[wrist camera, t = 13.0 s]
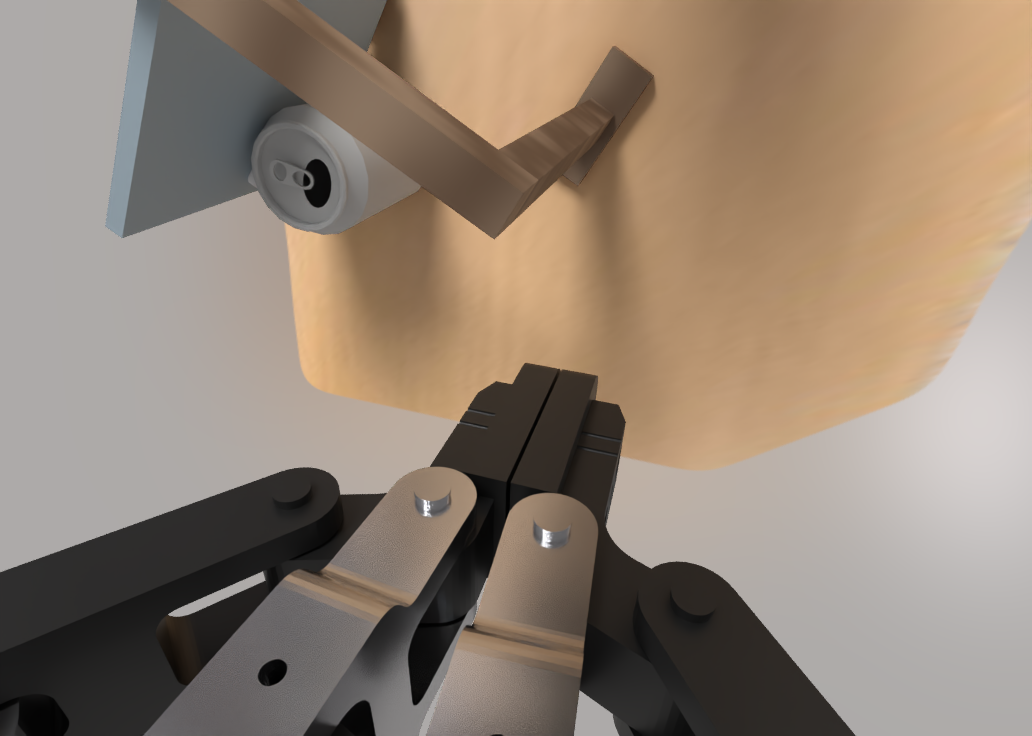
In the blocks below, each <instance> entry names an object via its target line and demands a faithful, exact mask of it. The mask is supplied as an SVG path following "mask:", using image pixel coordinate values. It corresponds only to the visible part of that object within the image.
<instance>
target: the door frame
mask: <svg viewBox="0 0 1032 736" xmlns="http://www.w3.org/2000/svg"><path fill="white" fill-rule="evenodd" d="M167 1H168V2H170V3H171V4H173V5H174V6H175V7H177V8H178V9H179V10H181V11H182V12H183V13H185V14H186V15H188V16H189V17H190V18H192V19H193V20H194V21H196V22H197V23H199V24H200V25H201V26H203V27H204V28H205V29H207V30H208V31H210V32H211V33H212V34H214V35H215V36H216V37H218V38H219V39H220V40H222V41H223V42H225V43H226V44H227V45H229V46H230V47H231V48H233V49H234V50H236V51H237V52H238V53H240V54H241V55H242V56H244V57H245V58H246V59H248V60H249V61H251V62H252V63H253V64H255V65H256V66H257V67H259V68H260V69H262V70H263V71H264V72H266V73H267V74H268V75H270V76H271V77H272V78H274V79H275V80H277V81H278V82H279V83H281V84H282V85H283V86H285V87H286V88H288V89H289V90H290V91H292V92H293V93H294V94H296V95H297V96H298V97H300V98H301V99H303V100H304V101H305V102H307V103H308V104H309V105H311V106H312V107H314V108H315V109H316V110H318V111H319V112H320V113H322V114H323V115H324V116H326V117H327V118H329V119H330V120H331V121H333V122H334V123H335V124H337V125H338V126H340V127H341V128H342V129H344V130H345V131H346V132H348V133H349V134H351V135H352V136H353V137H355V138H356V139H357V140H359V141H360V142H361V143H363V144H364V145H366V146H367V147H368V148H370V149H371V150H372V151H374V152H375V153H377V154H378V155H379V156H381V157H382V158H383V159H385V160H386V161H387V162H389V163H390V164H392V165H393V166H394V167H396V168H397V169H398V170H400V171H401V172H403V173H404V174H405V175H407V176H408V177H409V178H411V179H412V180H413V181H415V182H416V183H418V184H419V185H420V186H422V187H423V188H424V189H426V190H427V191H429V192H430V193H431V194H433V195H434V196H435V197H437V198H438V199H439V200H441V201H442V202H444V203H445V204H446V205H448V206H449V207H450V208H452V209H453V210H455V211H456V212H457V213H459V214H460V215H461V216H463V217H464V218H465V219H467V220H468V221H470V222H471V223H472V224H474V225H475V226H476V227H478V228H479V229H481V230H482V231H483V232H485V233H486V234H487V235H489V236H490V237H492V238H493V239H495V238H496V237H497V236H498V235H500V234H501V233H502V232H503V231H504V230H505V229H506V228H507V227H508V226H509V225H510V224H511V223H512V222H513V221H514V220H515V219H516V218H517V217H518V216H519V215H521V214H522V213H523V212H524V211H525V210H526V209H527V208H528V207H529V206H530V205H531V204H532V203H533V202H534V201H535V200H536V199H537V198H538V197H539V196H541V195H542V194H543V193H544V192H545V191H546V190H547V189H548V188H549V187H550V186H551V185H552V184H553V183H554V182H555V181H556V180H557V179H558V178H559V177H561V176H562V175H564V176H565V177H566V178H568V179H569V180H570V181H572V182H573V183H574V184H576V185H577V186H578V185H579V184H580V183H581V181H582V180H583V178H584V177H585V175H586V174H587V172H588V171H589V169H590V168H591V167H592V165H593V164H594V162H595V161H596V159H597V158H598V156H599V155H600V153H601V152H602V151H603V149H604V148H605V146H606V145H607V143H608V142H609V140H610V139H611V137H612V136H613V135H614V133H615V132H616V130H617V129H618V127H619V126H620V124H621V123H622V121H623V120H624V118H625V117H626V116H627V114H628V113H629V111H630V110H631V108H632V107H633V105H634V104H635V102H636V101H637V100H638V98H639V97H640V95H641V94H642V92H643V91H644V89H645V88H646V86H647V85H648V83H649V82H650V81H651V79H652V78H653V76H654V75H652V74H651V73H650V72H649V71H647V70H646V69H645V68H643V67H642V66H641V65H639V64H638V63H637V62H636V61H634V60H633V59H632V58H630V57H629V56H628V55H626V54H625V53H624V52H622V51H621V50H620V49H619V48H617V47H616V46H613V47H612V49H611V50H610V52H609V53H608V55H607V57H606V58H605V60H604V61H603V63H602V65H601V66H600V68H599V69H598V71H597V73H596V74H595V76H594V78H593V79H592V81H591V82H590V84H589V86H588V87H587V89H586V90H585V92H584V94H583V95H582V97H581V98H580V100H579V102H578V103H577V105H576V106H575V108H573V109H571V110H569V111H568V112H566V113H564V114H562V115H560V116H559V117H557V118H555V119H553V120H551V121H550V122H548V123H546V124H544V125H542V126H541V127H539V128H537V129H535V130H533V131H532V132H530V133H528V134H526V135H524V136H523V137H521V138H519V139H517V140H515V141H514V142H512V143H510V144H508V145H506V146H505V147H503V148H501V149H499V150H498V149H496V148H495V147H494V146H492V145H491V144H490V143H488V142H487V141H486V140H484V139H483V138H482V137H480V136H479V135H477V134H476V133H475V132H473V131H472V130H471V129H469V128H468V127H467V126H465V125H464V124H463V123H461V122H460V121H459V120H457V119H456V118H455V117H453V116H452V115H451V114H449V113H448V112H447V111H445V110H444V109H442V108H441V107H440V106H438V105H437V104H436V103H434V102H433V101H432V100H430V99H429V98H428V97H426V96H425V95H424V94H422V93H421V92H420V91H418V90H417V89H416V88H414V87H413V86H411V85H410V84H409V83H407V82H406V81H405V80H403V79H402V78H401V77H399V76H398V75H397V74H395V73H394V72H393V71H391V70H390V69H389V68H387V67H386V66H385V65H383V64H382V63H381V62H379V61H378V60H376V59H375V58H374V57H372V56H371V55H370V54H368V53H367V52H366V51H364V50H363V49H362V48H360V47H359V46H358V45H356V44H355V43H354V42H352V41H351V40H350V39H348V38H347V37H346V36H344V35H343V34H341V33H340V32H339V31H337V30H336V29H335V28H333V27H332V26H331V25H329V24H328V23H327V22H325V21H324V20H323V19H321V18H320V17H319V16H317V15H316V14H315V13H313V12H312V11H311V10H309V9H308V8H306V7H305V6H304V5H302V4H301V3H300V2H298V1H297V0H167Z"/></svg>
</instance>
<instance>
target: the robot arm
mask: <svg viewBox="0 0 1032 736" xmlns="http://www.w3.org/2000/svg"><path fill="white" fill-rule="evenodd" d="M597 384H598V376H596V375H590V374H585V373H579V372H574V371H568V370H562V371H561V370H560V369H557V368H551V367H546V366H540V365H535V364H529V363H525V364H524V365H523V367H522V368H521V370H520V372H519V374H518V375H517V377H516V379H515V381H514V382H513V384H507V383H502V382H497V381H496V382H495V383H493V384H491V385H490V386H488V387H487V388H485V389H483V390H482V391H480V392H479V393H478V394H477V395H476V397H475V398H474V400H473V401H472V403H471V404H470V406H469V407H468V411H466V412H465V414H464V415H463V417H462V418H461V420H460V423H459V424H457V426H456V428H455V429H454V431H453V433H452V434H451V435H450V437H449V438H448V440H447V441H446V443H445V444H444V446H443V447H442V449H441V450H440V452H439V453H438V455H437V457H436V458H435V460H434V461H433V463H432V464H431V466H430V467H427V468H422V469H418V470H415V471H413V472H411V473H409V474H407V475H405V476H403V477H402V478H401V479H399V480H398V481H397V482H396V483H395V485H394V486H393V487H392V488H391V489H390V490H389V492H388V493H384V494H355V495H354V494H353V495H340V490H339V485H338V483H337V480H336V479H335V478H334V477H333V476H332V475H331V474H329V473H328V472H326V471H323V470H320V469H316V468H294V469H289V470H285V471H282V472H279V473H276V474H273V475H270V476H268V477H265V478H262V479H259V480H257V481H254V482H251V483H248V484H246V485H243V486H240V487H237V488H234V489H231V490H229V491H226V492H223V493H220V494H217V495H215V496H212V497H209V498H206V499H204V500H201V501H198V502H195V503H192V504H190V505H187V506H184V507H181V508H179V509H176V510H173V511H170V512H167V513H164V514H162V515H159V516H156V517H153V518H151V519H148V520H145V521H142V522H139V523H137V524H134V525H131V526H128V527H126V528H123V529H120V530H117V531H114V532H111V533H109V534H106V535H104V536H100V537H98V538H95V539H92V540H89V541H86V542H84V543H81V544H78V545H75V546H72V547H70V548H67V549H64V550H61V551H59V552H56V553H53V554H50V555H48V556H45V557H42V558H39V559H36V560H34V561H31V562H28V563H25V564H22V565H19V566H17V567H14V568H11V569H8V570H6V571H3V572H0V736H419V732H420V729H421V726H422V723H423V720H424V718H425V715H426V713H427V711H428V709H429V707H430V705H431V703H432V701H433V699H434V697H435V695H436V693H437V691H438V689H439V688H440V685H441V683H442V682H443V679H444V678H445V680H444V683H443V686H442V689H441V692H440V695H439V698H438V701H437V704H436V707H435V711H434V713H433V716H432V719H431V722H430V725H429V728H428V731H427V734H426V736H574V729H575V720H576V713H577V705H578V697H579V690H580V691H582V692H583V693H584V694H586V695H587V696H589V697H590V698H591V699H593V700H594V701H596V702H597V703H598V704H600V705H601V706H603V707H604V708H605V709H607V710H608V711H610V712H611V713H612V714H613V718H614V723H615V726H616V729H617V731H618V734H619V736H855V734H854V733H853V732H852V731H851V730H850V728H849V727H848V726H847V725H846V724H845V722H844V721H843V720H842V719H841V718H840V716H839V715H838V714H837V713H836V711H835V710H834V709H833V708H832V707H831V705H830V704H829V703H828V702H827V701H826V699H825V698H824V697H823V696H822V695H821V693H820V692H819V691H818V690H817V689H816V688H815V686H814V685H813V684H812V683H811V681H810V680H809V679H808V678H807V677H806V675H805V674H804V673H803V672H802V671H801V669H800V668H799V667H798V666H797V665H796V663H795V662H794V661H793V660H792V659H791V657H790V656H789V655H788V654H787V652H786V651H785V650H784V649H783V648H782V646H781V645H780V644H779V643H778V642H777V640H776V639H775V638H774V637H773V636H772V634H771V633H770V632H769V631H768V630H767V628H766V627H765V626H764V625H763V624H762V622H761V621H760V620H759V619H758V618H757V616H756V615H755V614H754V613H753V612H752V610H751V609H750V608H749V607H748V606H747V604H746V603H745V602H744V601H743V600H742V598H741V597H740V596H739V595H738V593H737V592H736V591H735V590H734V589H733V588H732V587H731V586H730V584H729V583H728V582H726V581H725V580H724V579H723V578H721V577H720V576H719V575H717V574H716V573H714V572H713V571H711V570H708V569H706V568H704V567H702V566H699V565H696V564H692V563H687V562H668V563H663V564H660V565H658V566H655V567H654V568H652V569H651V568H649V567H647V566H645V565H644V564H642V563H640V562H638V561H636V560H634V559H633V558H631V557H630V556H628V555H627V554H626V553H624V552H623V551H622V550H621V549H620V548H619V547H618V546H617V545H616V544H615V543H614V541H613V540H612V539H611V537H610V535H609V533H608V531H607V528H606V523H607V519H608V514H609V510H610V505H611V500H612V496H613V492H614V487H615V482H616V476H617V471H618V465H619V459H620V453H621V447H622V441H623V435H624V429H625V423H626V422H625V419H624V417H623V414H622V412H621V410H620V407H619V405H617V404H611V403H606V402H601V401H596V392H597ZM262 571H263V573H264V576H265V580H266V581H264V582H262V583H259V584H257V585H255V586H253V587H251V588H248V589H246V590H244V591H242V592H239V593H237V594H235V595H233V596H230V597H229V598H226V599H224V600H221V601H219V602H217V603H215V604H213V605H210V606H208V607H206V608H204V609H202V610H199V611H197V612H195V613H192V614H190V615H186V616H182V617H173V616H169V615H168V614H169V613H171V612H172V611H174V610H176V609H178V608H180V607H182V606H184V605H187V604H189V603H191V602H194V601H196V600H198V599H201V598H203V597H205V596H207V595H209V594H212V593H214V592H216V591H219V590H221V589H223V588H226V587H228V586H230V585H233V584H235V583H237V582H239V581H242V580H244V579H246V578H248V577H251V576H253V575H255V574H258V573H260V572H262ZM486 578H488V580H487V583H486V586H485V589H484V592H483V596H482V599H481V602H480V605H479V608H478V611H477V614H476V610H477V600H478V597H479V595H480V592H481V590H482V588H483V585H484V583H485V581H486ZM475 615H476V617H475ZM474 618H475V620H474ZM473 620H474V622H473ZM472 622H473V624H472ZM471 624H472V626H471ZM445 676H446V677H445Z"/></svg>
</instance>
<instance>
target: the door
mask: <svg viewBox="0 0 1032 736" xmlns="http://www.w3.org/2000/svg"><path fill="white" fill-rule="evenodd" d="M297 1H298V2H300V3H301V4H302V5H304V6H305V7H306V8H308V9H309V10H311V11H312V12H313V13H315V14H316V15H317V16H319V17H320V18H321V19H323V20H324V21H325V22H327V23H328V24H329V25H331V26H332V27H333V28H335V29H336V30H337V31H339V32H340V33H341V34H343V35H344V36H346V37H347V38H348V39H350V40H351V41H352V42H354V43H355V44H356V45H358V46H359V47H360V48H362V49H363V50H364V51H366V52H367V51H368V48H369V45H370V43H371V40H372V38H373V35H374V32H375V30H376V27H377V25H378V22H379V19H380V17H381V14H382V12H383V9H384V7H385V4H386V1H387V0H297ZM302 104H308V103H307V102H305V101H304V100H303V99H301V98H300V97H298V96H297V95H296V94H294V93H293V92H292V91H290V90H289V89H288V88H286V87H285V86H283V85H282V84H281V83H279V82H278V81H277V80H275V79H274V78H272V77H271V76H270V75H268V74H267V73H266V72H264V71H263V70H262V69H260V68H259V67H257V66H256V65H255V64H253V63H252V62H251V61H249V60H248V59H246V58H245V57H244V56H242V55H241V54H240V53H238V52H237V51H236V50H234V49H233V48H231V47H230V46H229V45H227V44H226V43H225V42H223V41H222V40H220V39H219V38H218V37H216V36H215V35H214V34H212V33H211V32H210V31H208V30H207V29H205V28H204V27H203V26H201V25H200V24H199V23H197V22H196V21H194V20H193V19H192V18H190V17H189V16H188V15H186V14H185V13H183V12H182V11H181V10H179V9H178V8H177V7H175V6H174V5H173V4H171V3H170V2H168V1H167V0H137V7H136V14H135V21H134V28H133V35H132V42H131V49H130V56H129V63H128V70H127V77H126V84H125V91H124V98H123V106H122V112H121V119H120V127H119V134H118V141H117V149H116V155H115V163H114V169H113V177H112V183H111V190H110V197H109V204H108V211H107V218H106V225H105V226H106V227H107V228H108V229H110V230H111V231H113V232H114V233H115V234H117V235H118V236H120V237H121V238H124V237H127V236H129V235H133V234H135V233H138V232H141V231H144V230H146V229H150V228H152V227H155V226H158V225H161V224H164V223H167V222H169V221H172V220H175V219H178V218H181V217H184V216H186V215H189V214H192V213H195V212H198V211H201V210H204V209H206V208H209V207H212V206H215V205H218V204H221V203H223V202H226V201H229V200H232V199H235V198H237V197H241V196H243V195H246V194H249V193H252V192H255V191H258V189H257V186H256V183H255V180H254V178H253V174H252V163H251V155H252V150H253V145H254V142H255V140H256V139H257V137H258V135H259V134H260V132H261V130H263V128H264V127H265V125H266V123H267V122H268V120H269V119H270V117H271V116H273V115H274V114H276V113H277V112H279V111H280V110H282V109H283V108H286V107H291V106H297V105H302Z"/></svg>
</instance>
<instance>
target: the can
mask: <svg viewBox="0 0 1032 736" xmlns="http://www.w3.org/2000/svg"><path fill="white" fill-rule="evenodd" d="M251 163H252V174H253V178H254V180H255V183H256V186H257V189H258V192H259V193H260V195H261V197H262V198H263V200H264V201H265V203H266V205H267V206H268V208H269V209H271V211H273V213H274V214H275V215H276V216H277V217H278V218H279V219H281V220H282V221H284V222H285V223H287V224H289V225H290V226H292V227H293V228H297V229H300V230H304V231H307V232H309V231H311V232H315V233H319V234H322V235H325V234H339V233H341V232H343V231H345V230H347V229H349V228H351V227H353V226H355V225H356V224H358V223H360V222H362V221H364V220H366V219H367V218H369V217H371V216H373V215H375V214H377V213H378V212H380V211H382V210H384V209H386V208H388V207H390V206H391V205H393V204H395V203H397V202H399V201H401V200H402V199H404V198H406V197H408V196H410V195H412V194H413V193H415V192H417V191H418V190H419V189H420V188H421V187H422V186H420V185H419V184H418V183H416V182H415V181H413V180H412V179H411V178H409V177H408V176H407V175H405V174H404V173H403V172H401V171H400V170H398V169H397V168H396V167H394V166H393V165H392V164H390V163H389V162H387V161H386V160H385V159H383V158H382V157H381V156H379V155H378V154H377V153H375V152H374V151H372V150H371V149H370V148H368V147H367V146H366V145H364V144H363V143H361V142H360V141H359V140H357V139H356V138H355V137H353V136H352V135H351V134H349V133H348V132H346V131H345V130H344V129H342V128H341V127H340V126H338V125H337V124H335V123H334V122H333V121H331V120H330V119H329V118H327V117H326V116H324V115H323V114H322V113H320V112H319V111H318V110H316V109H315V108H314V107H312V106H311V105H309V104H302V105H297V106H291V107H286V108H283V109H282V110H280V111H279V112H277V113H276V114H274V115H273V116H271V117H270V119H269V120H268V122H267V123H266V125H265V127H264V128H263V130H261V132H260V134H259V135H258V137H257V139H256V140H255V142H254V145H253V150H252V155H251Z"/></svg>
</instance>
